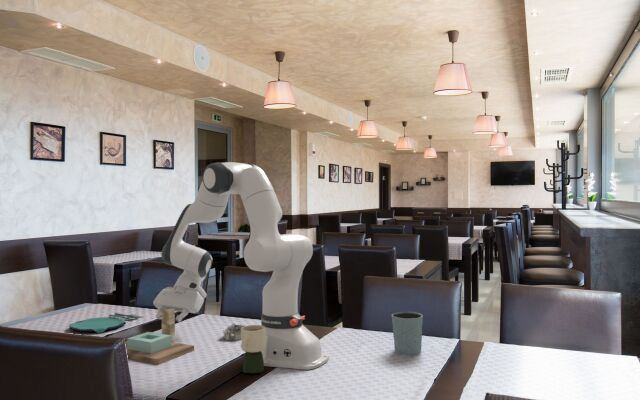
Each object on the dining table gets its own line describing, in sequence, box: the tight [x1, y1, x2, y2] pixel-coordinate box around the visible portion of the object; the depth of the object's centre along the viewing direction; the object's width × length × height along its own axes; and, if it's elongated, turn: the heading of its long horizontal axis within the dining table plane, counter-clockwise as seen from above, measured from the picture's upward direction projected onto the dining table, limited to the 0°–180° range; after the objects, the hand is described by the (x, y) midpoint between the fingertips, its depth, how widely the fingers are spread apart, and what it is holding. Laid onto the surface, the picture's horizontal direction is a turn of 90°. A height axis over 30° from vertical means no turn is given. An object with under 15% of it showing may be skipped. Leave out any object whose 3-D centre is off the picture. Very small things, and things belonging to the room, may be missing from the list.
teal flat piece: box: [68, 312, 143, 335], centre depth 209 cm, size 20×30×2 cm, turn 161°
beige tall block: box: [161, 308, 176, 338], centre depth 190 cm, size 4×2×10 cm, turn 63°
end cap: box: [126, 331, 172, 353], centre depth 172 cm, size 10×9×4 cm
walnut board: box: [124, 341, 195, 365], centre depth 172 cm, size 24×16×2 cm, turn 63°
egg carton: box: [222, 323, 246, 341], centre depth 190 cm, size 11×8×4 cm
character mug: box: [240, 324, 266, 375], centre depth 151 cm, size 11×7×13 cm, turn 157°
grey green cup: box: [391, 311, 424, 356], centre depth 171 cm, size 10×10×12 cm
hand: (167, 319), depth 190 cm, fingers open, 8 cm apart
